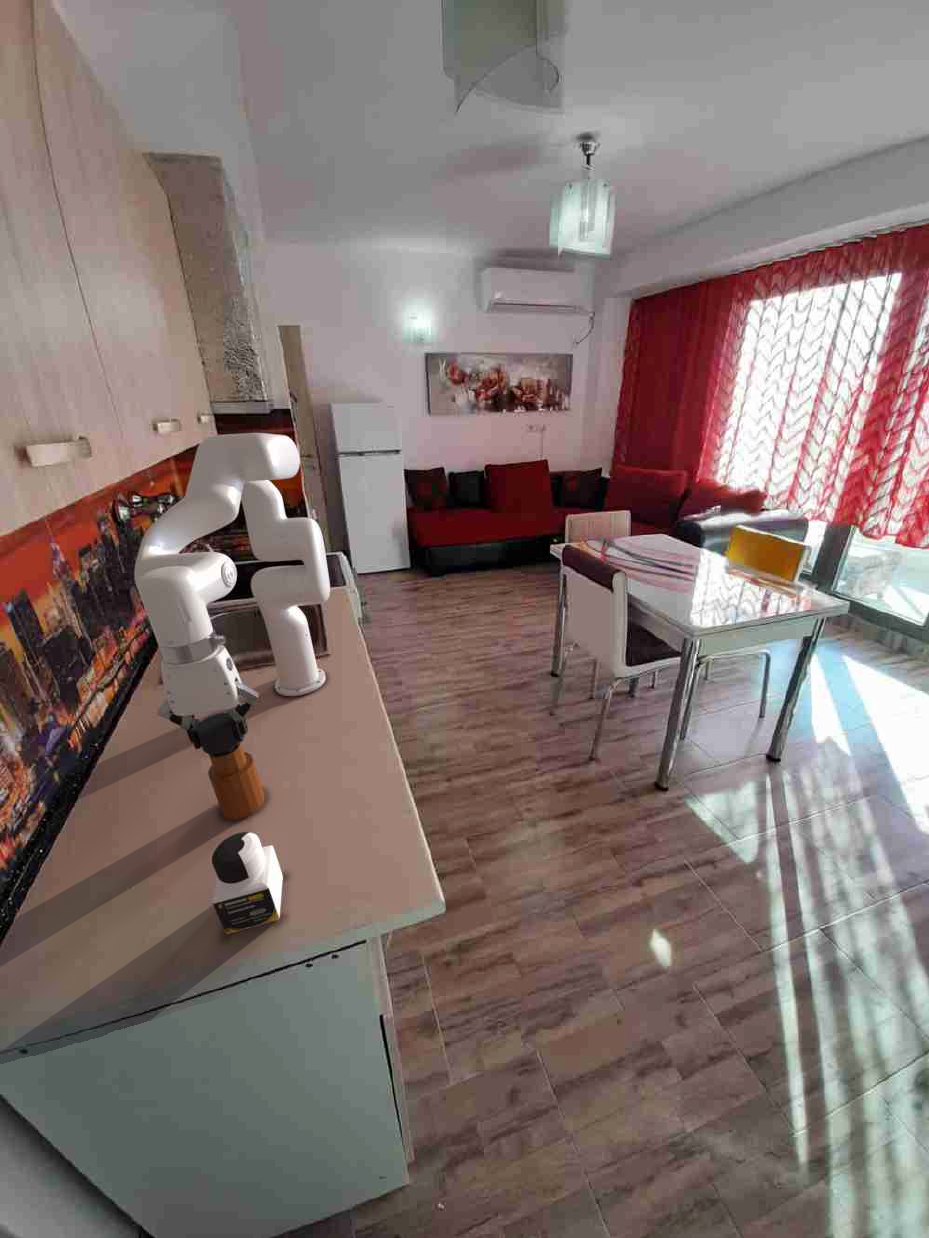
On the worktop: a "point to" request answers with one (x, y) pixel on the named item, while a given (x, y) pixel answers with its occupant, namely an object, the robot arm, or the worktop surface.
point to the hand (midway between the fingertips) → (221, 739)
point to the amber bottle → (236, 783)
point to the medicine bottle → (246, 883)
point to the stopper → (217, 734)
